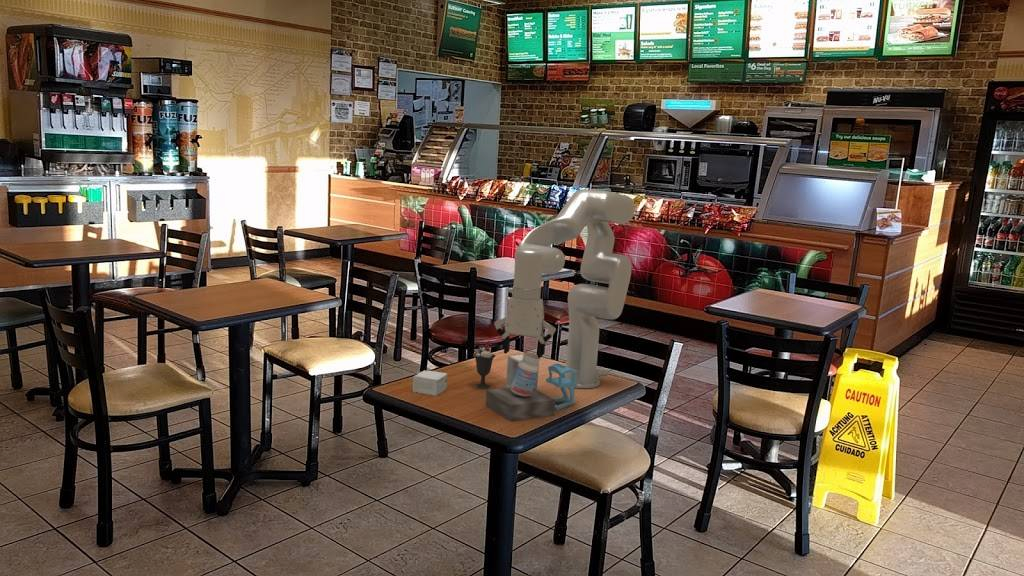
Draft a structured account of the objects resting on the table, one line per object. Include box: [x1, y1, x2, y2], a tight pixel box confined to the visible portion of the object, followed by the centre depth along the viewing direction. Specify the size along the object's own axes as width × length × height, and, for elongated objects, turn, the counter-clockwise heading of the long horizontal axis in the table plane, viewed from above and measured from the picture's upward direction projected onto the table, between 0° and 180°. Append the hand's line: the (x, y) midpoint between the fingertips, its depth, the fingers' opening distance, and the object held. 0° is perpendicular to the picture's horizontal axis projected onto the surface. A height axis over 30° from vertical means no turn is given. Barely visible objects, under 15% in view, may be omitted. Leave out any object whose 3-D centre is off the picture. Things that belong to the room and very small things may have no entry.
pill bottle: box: [511, 352, 541, 397], centre depth 216 cm, size 6×6×11 cm
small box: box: [412, 369, 448, 397], centre depth 231 cm, size 8×8×5 cm
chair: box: [545, 362, 577, 411], centre depth 225 cm, size 8×8×12 cm
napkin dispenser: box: [505, 354, 540, 390], centre depth 234 cm, size 5×10×10 cm, turn 29°
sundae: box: [473, 340, 496, 390], centre depth 237 cm, size 7×7×15 cm
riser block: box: [485, 387, 556, 422], centre depth 218 cm, size 14×14×5 cm
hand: (523, 354), depth 215 cm, fingers open, 9 cm apart
